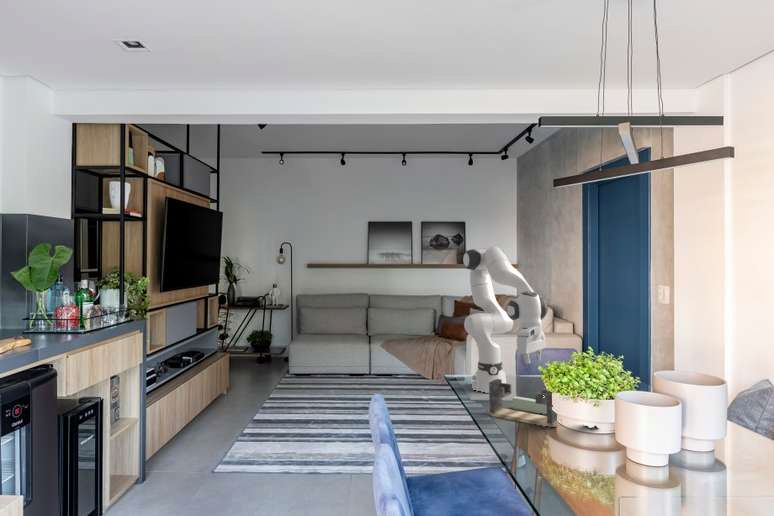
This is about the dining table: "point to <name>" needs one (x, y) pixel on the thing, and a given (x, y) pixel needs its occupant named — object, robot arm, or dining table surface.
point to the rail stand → (502, 390)
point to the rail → (528, 405)
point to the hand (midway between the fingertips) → (533, 361)
